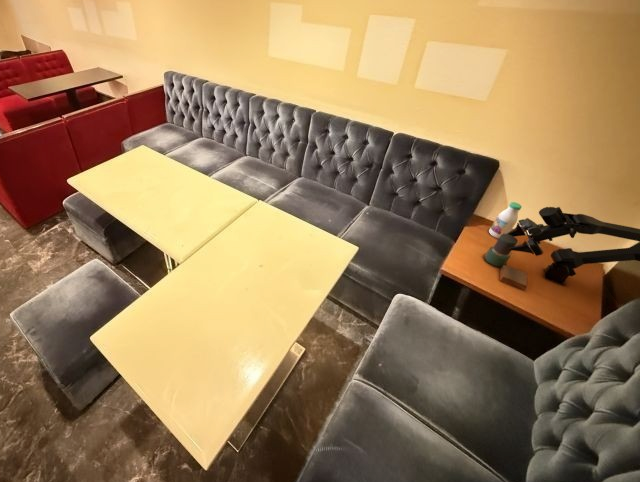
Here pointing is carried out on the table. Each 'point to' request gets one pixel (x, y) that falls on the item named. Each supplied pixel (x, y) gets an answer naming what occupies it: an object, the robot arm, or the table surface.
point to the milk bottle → (505, 220)
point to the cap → (505, 244)
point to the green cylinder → (496, 258)
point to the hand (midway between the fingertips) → (507, 242)
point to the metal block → (513, 277)
